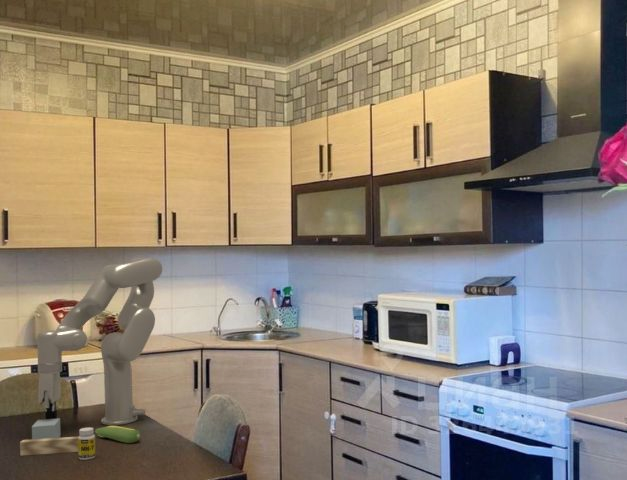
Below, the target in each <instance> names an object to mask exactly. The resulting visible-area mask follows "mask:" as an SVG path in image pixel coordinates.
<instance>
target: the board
mask: <svg viewBox="0 0 627 480" xmlns="http://www.w3.org/2000/svg"><path fill="white" fill-rule="evenodd" d="M78 437H79V436H69V437H68V436H65V437H64V436H63V437H60V438H47V439H32V438H31V439H23V440H21V441H20V442H19V449H20V450H19V452H20V456H21V457H22V456H35V455H51V454H52V455H54V454H65V453H78Z"/></svg>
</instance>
